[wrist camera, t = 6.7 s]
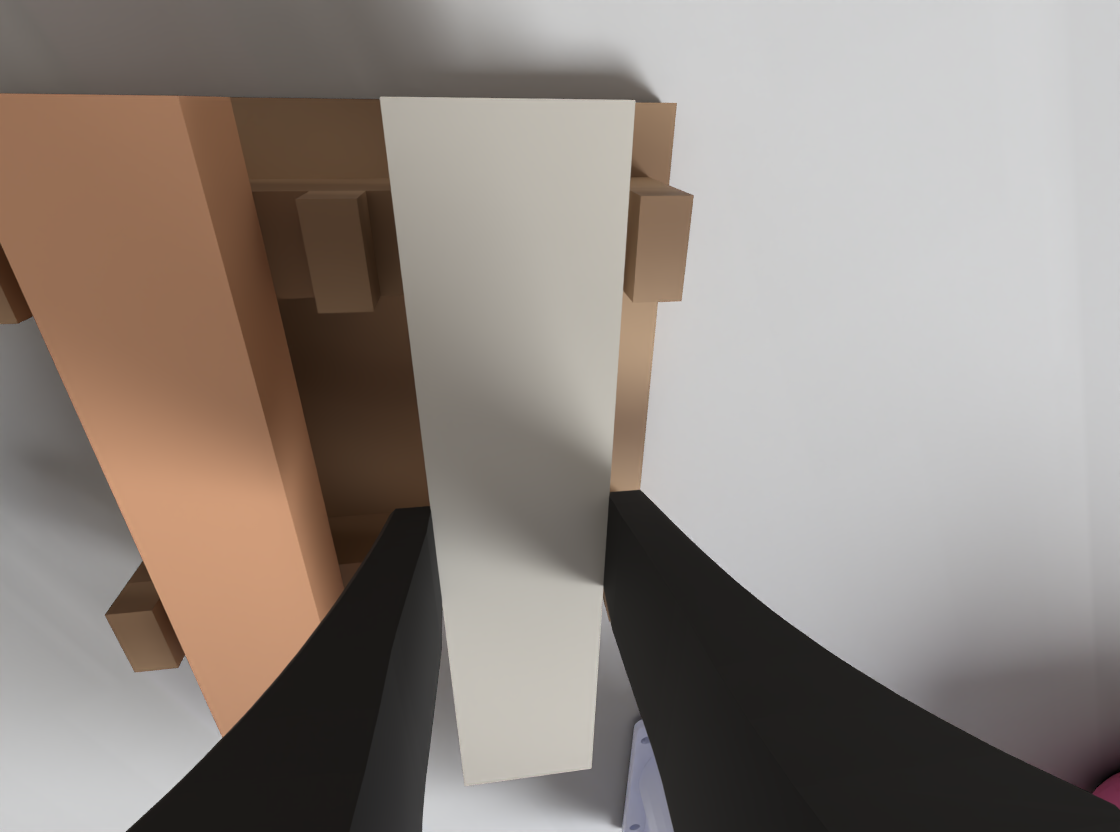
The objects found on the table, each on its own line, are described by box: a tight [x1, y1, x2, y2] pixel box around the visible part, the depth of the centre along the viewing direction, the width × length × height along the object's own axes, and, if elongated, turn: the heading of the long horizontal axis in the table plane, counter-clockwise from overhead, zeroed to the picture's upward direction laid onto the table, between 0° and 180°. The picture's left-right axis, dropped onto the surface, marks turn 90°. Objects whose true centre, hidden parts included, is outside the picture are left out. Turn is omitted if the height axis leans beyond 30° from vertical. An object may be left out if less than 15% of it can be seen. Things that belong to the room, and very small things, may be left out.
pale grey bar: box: [380, 97, 635, 786], centre depth 12 cm, size 14×3×4 cm, turn 178°
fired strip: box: [0, 93, 344, 738], centre depth 12 cm, size 14×3×2 cm, turn 178°
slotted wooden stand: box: [0, 97, 694, 672], centre depth 14 cm, size 14×14×4 cm
